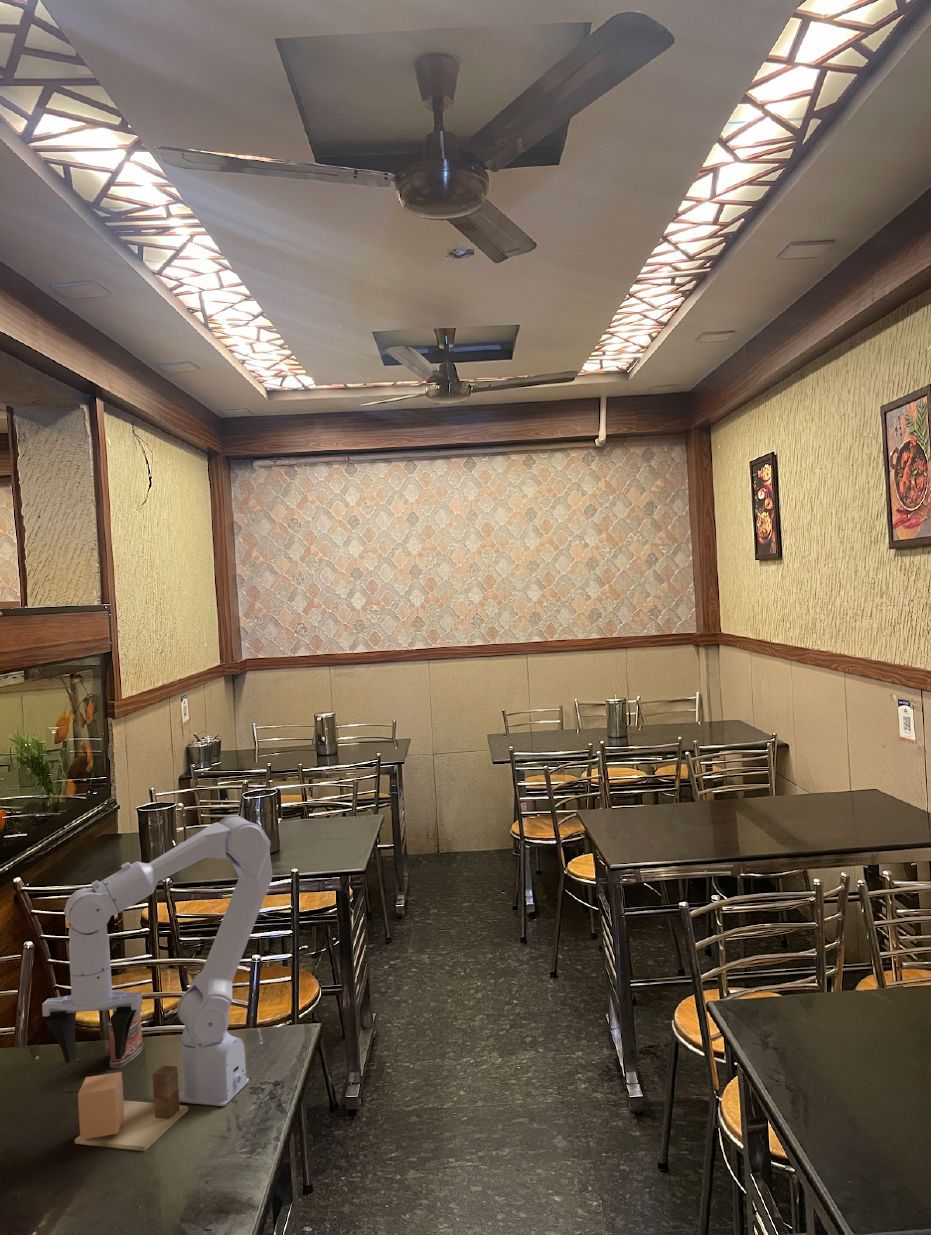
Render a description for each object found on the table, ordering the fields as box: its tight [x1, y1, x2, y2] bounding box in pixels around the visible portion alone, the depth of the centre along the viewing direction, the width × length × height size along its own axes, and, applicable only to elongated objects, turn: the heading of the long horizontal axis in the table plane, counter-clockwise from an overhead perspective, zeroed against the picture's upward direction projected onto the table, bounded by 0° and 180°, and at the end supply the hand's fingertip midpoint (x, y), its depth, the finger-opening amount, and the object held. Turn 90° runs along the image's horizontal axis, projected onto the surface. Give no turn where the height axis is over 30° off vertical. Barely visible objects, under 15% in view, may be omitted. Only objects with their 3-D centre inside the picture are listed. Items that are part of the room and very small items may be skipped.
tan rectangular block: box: [77, 1071, 124, 1140], centre depth 132 cm, size 5×5×7 cm
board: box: [74, 1099, 189, 1152], centre depth 134 cm, size 12×11×1 cm
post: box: [152, 1065, 180, 1119], centre depth 136 cm, size 3×3×7 cm
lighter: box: [106, 1005, 145, 1069], centre depth 157 cm, size 8×3×10 cm, turn 168°
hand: (95, 1058), depth 135 cm, fingers open, 7 cm apart
